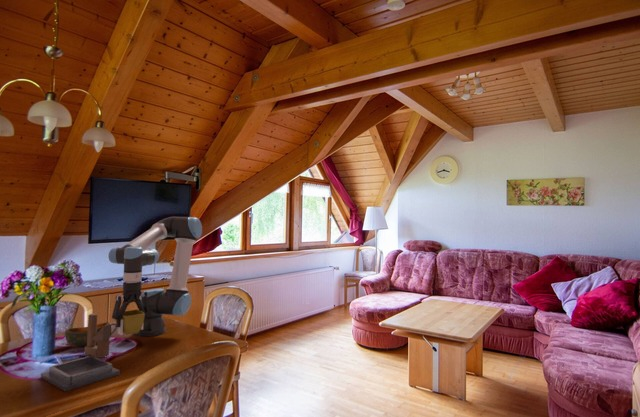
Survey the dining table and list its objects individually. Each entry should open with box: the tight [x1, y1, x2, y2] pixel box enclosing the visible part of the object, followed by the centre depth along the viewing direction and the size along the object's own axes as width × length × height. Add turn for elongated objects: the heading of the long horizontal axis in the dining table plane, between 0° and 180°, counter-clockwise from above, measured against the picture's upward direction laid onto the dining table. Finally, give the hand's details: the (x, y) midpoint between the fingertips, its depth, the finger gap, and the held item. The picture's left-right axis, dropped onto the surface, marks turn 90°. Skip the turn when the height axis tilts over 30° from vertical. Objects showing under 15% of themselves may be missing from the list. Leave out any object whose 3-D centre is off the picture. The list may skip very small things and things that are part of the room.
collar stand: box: [40, 355, 121, 393], centre depth 153 cm, size 20×20×4 cm
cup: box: [64, 321, 118, 349], centre depth 189 cm, size 13×20×10 cm, turn 85°
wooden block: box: [84, 313, 111, 359], centre depth 176 cm, size 4×11×18 cm, turn 72°
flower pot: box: [122, 309, 145, 336], centre depth 175 cm, size 9×9×9 cm
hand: (130, 331), depth 175 cm, fingers closed on flower pot, 9 cm apart
